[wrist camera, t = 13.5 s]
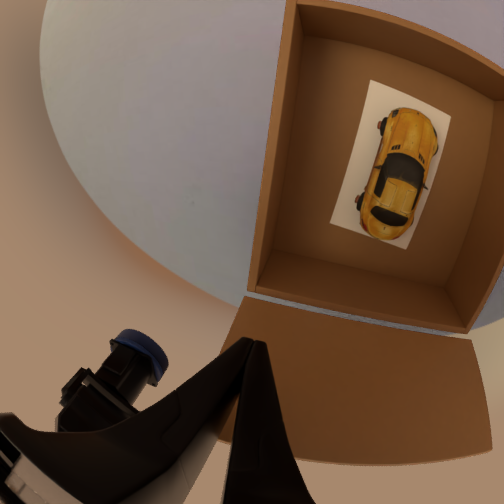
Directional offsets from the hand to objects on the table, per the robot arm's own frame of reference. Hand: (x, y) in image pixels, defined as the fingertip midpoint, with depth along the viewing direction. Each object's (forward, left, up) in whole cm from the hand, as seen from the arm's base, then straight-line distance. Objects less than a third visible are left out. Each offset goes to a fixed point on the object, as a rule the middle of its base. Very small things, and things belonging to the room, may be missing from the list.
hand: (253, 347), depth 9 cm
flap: (-2, -6, -1) cm, 6 cm away
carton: (+6, -6, -11) cm, 14 cm away
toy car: (+6, -6, -11) cm, 14 cm away
